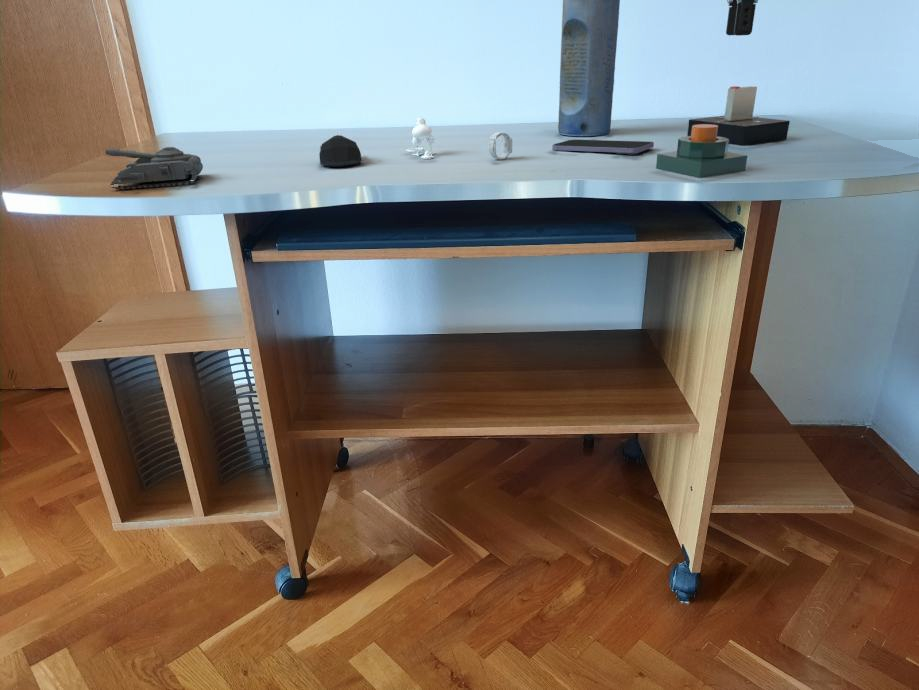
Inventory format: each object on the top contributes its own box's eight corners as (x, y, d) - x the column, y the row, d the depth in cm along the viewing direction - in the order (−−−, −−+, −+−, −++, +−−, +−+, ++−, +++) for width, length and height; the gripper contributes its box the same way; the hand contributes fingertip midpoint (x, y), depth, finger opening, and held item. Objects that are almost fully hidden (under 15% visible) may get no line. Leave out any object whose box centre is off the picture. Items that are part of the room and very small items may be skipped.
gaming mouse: (357, 152, 110) (354, 127, 108) (363, 167, 97) (360, 139, 95) (320, 154, 109) (317, 130, 107) (320, 170, 96) (317, 142, 94)
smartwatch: (493, 161, 97) (493, 133, 95) (485, 159, 98) (485, 132, 97) (512, 158, 99) (513, 131, 97) (504, 157, 100) (504, 130, 98)
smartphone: (571, 139, 109) (656, 141, 101) (571, 146, 110) (655, 149, 101) (549, 145, 104) (637, 148, 95) (549, 152, 104) (637, 156, 96)
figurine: (432, 148, 110) (431, 114, 108) (439, 158, 101) (437, 121, 99) (406, 150, 109) (403, 116, 107) (410, 160, 101) (407, 123, 98)
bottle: (547, 134, 120) (551, -52, 107) (581, 128, 126) (589, -49, 113) (587, 138, 114) (597, -59, 101) (621, 132, 119) (634, -56, 106)
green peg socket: (745, 171, 84) (750, 139, 82) (699, 178, 81) (703, 145, 79) (699, 162, 90) (703, 132, 89) (655, 168, 87) (658, 138, 86)
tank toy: (107, 193, 86) (96, 153, 84) (122, 180, 94) (112, 143, 92) (201, 185, 89) (192, 146, 86) (207, 173, 97) (200, 137, 95)
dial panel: (786, 139, 105) (790, 119, 103) (742, 146, 101) (745, 125, 100) (729, 132, 115) (731, 113, 113) (686, 137, 111) (689, 118, 109)
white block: (745, 118, 108) (750, 84, 106) (752, 118, 107) (757, 85, 105) (723, 120, 106) (728, 86, 104) (730, 121, 105) (735, 87, 103)
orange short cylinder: (721, 142, 83) (723, 125, 82) (703, 144, 82) (705, 128, 81) (703, 139, 86) (705, 123, 85) (685, 141, 85) (686, 125, 84)
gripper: (800, -117, 76) (776, 34, 83) (777, -96, 89) (757, 33, 96) (733, -111, 78) (715, 37, 85) (719, -92, 90) (704, 36, 97)
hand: (737, 35), depth 90 cm, fingers open, 8 cm apart
